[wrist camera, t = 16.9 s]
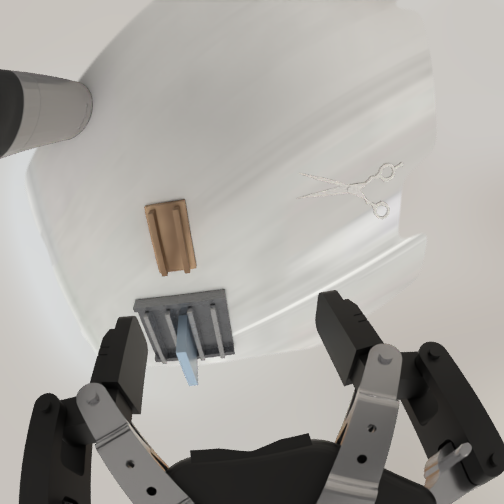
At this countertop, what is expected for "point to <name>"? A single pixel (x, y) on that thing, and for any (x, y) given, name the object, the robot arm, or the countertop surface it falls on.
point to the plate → (187, 350)
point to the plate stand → (171, 236)
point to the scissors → (356, 188)
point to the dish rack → (201, 321)
